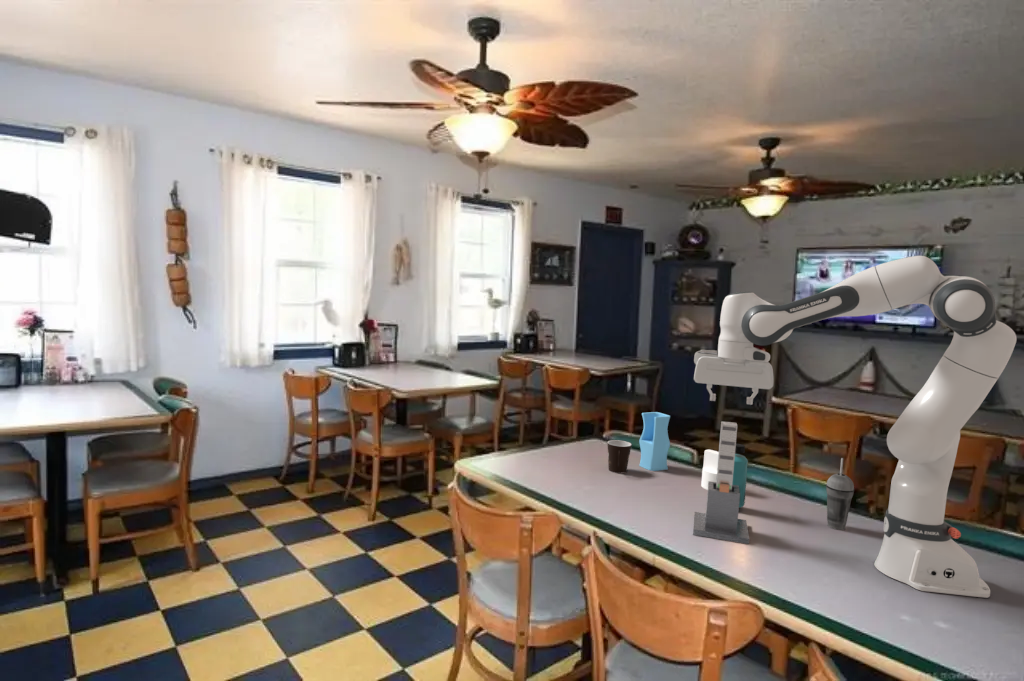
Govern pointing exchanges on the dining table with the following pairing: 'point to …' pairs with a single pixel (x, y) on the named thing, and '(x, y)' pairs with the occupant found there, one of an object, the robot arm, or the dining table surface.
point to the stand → (721, 515)
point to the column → (726, 454)
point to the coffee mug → (618, 455)
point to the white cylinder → (709, 467)
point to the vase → (654, 441)
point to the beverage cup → (838, 499)
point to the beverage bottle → (740, 472)
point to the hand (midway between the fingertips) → (730, 402)
